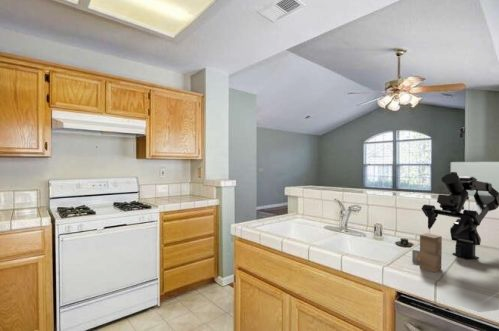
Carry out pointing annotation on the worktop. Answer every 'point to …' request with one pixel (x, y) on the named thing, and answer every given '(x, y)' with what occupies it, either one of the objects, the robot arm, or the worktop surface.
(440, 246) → the walnut post
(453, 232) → the robot arm
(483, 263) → the worktop surface
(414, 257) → the letter block
